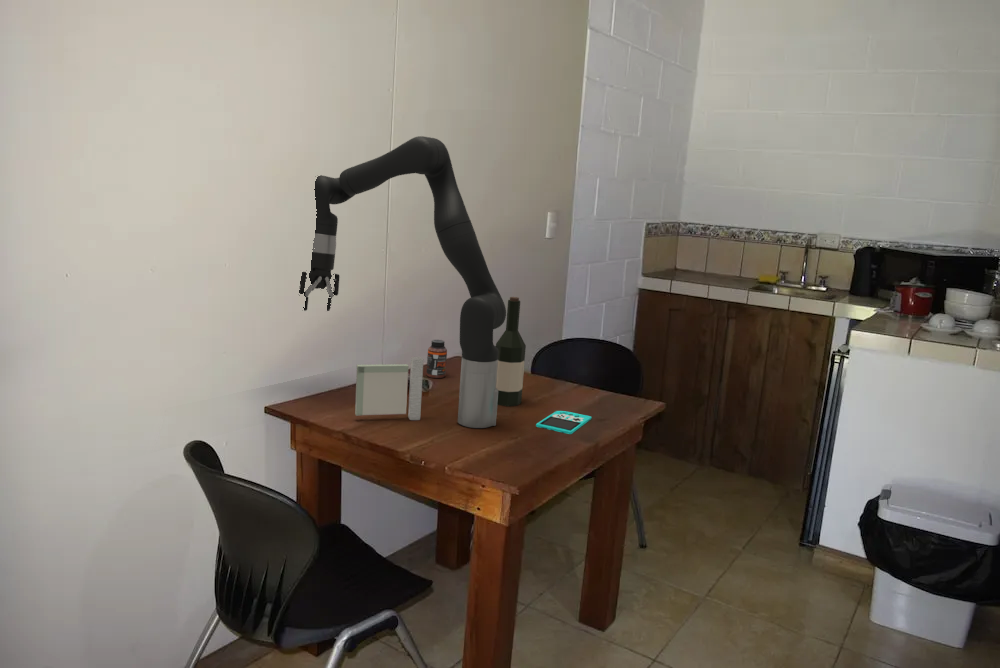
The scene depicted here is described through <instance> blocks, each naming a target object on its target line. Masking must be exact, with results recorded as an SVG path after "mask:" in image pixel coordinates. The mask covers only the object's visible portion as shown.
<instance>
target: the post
mask: <svg viewBox="0 0 1000 668" xmlns="http://www.w3.org/2000/svg"><path fill="white" fill-rule="evenodd" d="M409 373H410V375H409V392H408V393H409V394H408V396H409V397H408V415H407V417H408V419H409V420H410V421H420V420H421V413H422V412H421V411H422V393H423V373H424V359H423V357H422V356H411V357H410V372H409Z"/></svg>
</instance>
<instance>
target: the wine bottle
mask: <svg viewBox="0 0 1000 668" xmlns="http://www.w3.org/2000/svg"><path fill="white" fill-rule="evenodd" d="M520 311H521V300H520V297H518V296H510V297H509V299H508V300H507V308H506V322H505V323H506V325H505V330H504V332H503V333H502V334H501V336H500V338H499V339H498V340H497V341H496V343H495V346H496V347H497V348H498V351H499V353H498V367H497V381H496V388H497V389H498V403H497V406H502V407H503V406H504V407H516V406H517V407H518V406H519V405H520V404H522V398H523V397H522V395H523V384H524V371H525V370H524V369H525V361H526V360H525V358H526V343H525V341H524V340H523V337H522V336H521V334H520V332H519V324H520V323H519V322H520V321H519V320H520V313H521V312H520Z"/></svg>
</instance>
